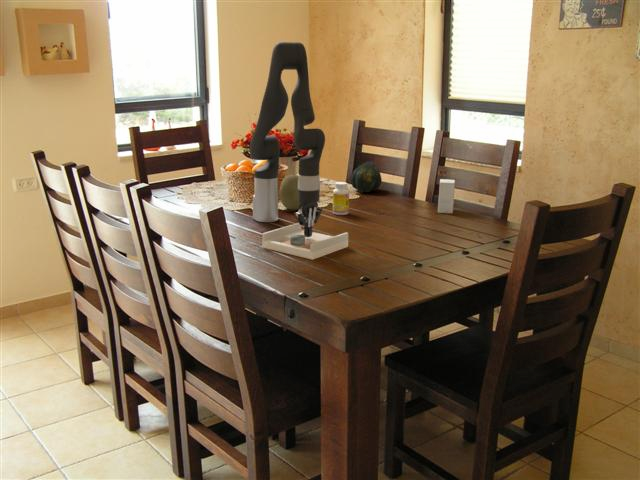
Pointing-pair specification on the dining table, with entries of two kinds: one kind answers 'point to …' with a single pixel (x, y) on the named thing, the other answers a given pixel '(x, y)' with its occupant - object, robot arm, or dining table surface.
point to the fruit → (289, 192)
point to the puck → (297, 240)
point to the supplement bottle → (341, 199)
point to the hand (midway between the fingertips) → (308, 236)
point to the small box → (446, 196)
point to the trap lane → (311, 248)
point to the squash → (366, 177)
